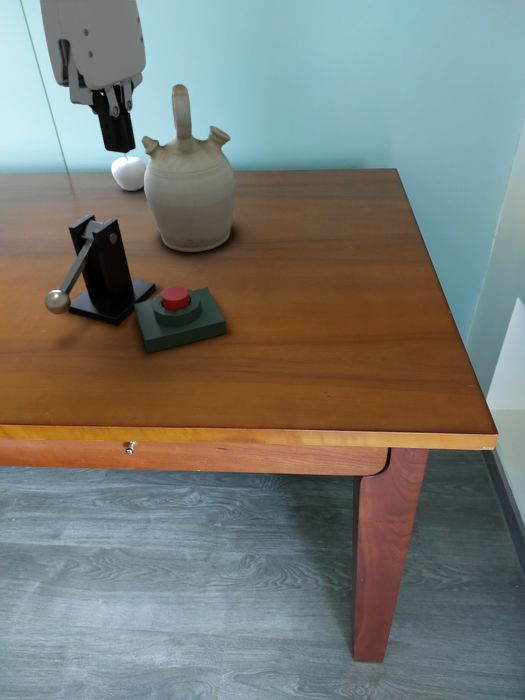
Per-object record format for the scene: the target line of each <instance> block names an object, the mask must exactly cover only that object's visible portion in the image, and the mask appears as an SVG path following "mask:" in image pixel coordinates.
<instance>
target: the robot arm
mask: <svg viewBox="0 0 525 700" xmlns="http://www.w3.org/2000/svg"><path fill="white" fill-rule="evenodd" d="M39 5H40V13H41V20H42V25H43V26H42V27H43V31H44V37H45V41H46V47H47V51H48V57H49V62H50V65H51V69H52V70H51V71H52V74H53V77H54V80H55V82H56V84H57V85H58V86H60V87H63V88H68V89H69V100H70V103H71V104H73V105H78V106H88V107H89V108H90V109H91V111H92V113H93V115H94V116H97V118H98V122H99V127H100V131H101V132H100V133H101V136H102V142H103V146H104V149H105V150H106V151H107V152H113V153H120V154H123V153H125V154H128V153H129V152H130V151H133V150H135V149H136V148H137V145H136V139H135V133H134V127H133V122H132V117H131V111H133V107H134V105H133V94H134V91H135V89H136V88H137V87H138V86H139V85H141V83H142V82H143V79H144V77H143V73H142V72H144V70H145V68H146V65H147V57H146V47H145V40H144V34H143V33H144V32H143V28H142V22H141V18H140V13H139V9H138V4H137V0H39Z"/></svg>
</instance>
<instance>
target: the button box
mask: <svg viewBox="0 0 525 700" xmlns="http://www.w3.org/2000/svg"><path fill="white" fill-rule="evenodd" d="M186 289H187V290H188V293H189V300H190V304H189V306H187V307H186V308H184V309H180V310H176V311H174V310H167V309H165V308H164V305H163V300H162V292H161V293H160V294H158V295H156V296H155V298H154V299H150V300H145V301H144V302H141V303H137V304H134V309H135V310H134V313H135V318H136V320H137V324H138V326H139V329H140V333H141V336H142V339H143V342H144V345H145V349H146V351H147V354H150V353H151V354H152V353H154V352H159V351H163V350H166V349H171V348H174V347H178V346H183V345H185V344H190V343H194V342H197V341H201V340H206V339H209V338H213V337H217V336H221V335H225V334H227V324H226V323H227V322H226V319H225V317H224V315H223V314H222V311H221V310H220V308H219V306H218V305H217V302H216V300H215V299H214V297H213V294H212V293H211V291H210V289H209V287H203V288H198V289H193V290H192V289H190V288H186Z"/></svg>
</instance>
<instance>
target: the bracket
mask: <svg viewBox="0 0 525 700" xmlns="http://www.w3.org/2000/svg"><path fill="white" fill-rule="evenodd" d="M90 221H95V222H97V219H96V217H95V214H92V213H88V214H86V215H85V216H83V217H82V218H80V219H78V220H77V221H75V222H74V223H73V224H71V225H69V226H68V227H67V228H68V231H69V234H70V238H71V241H72V244H73V248H74V251H75V255H76V257H77V256H78V255H79V253H80V251H81V249H82V248H83V246H84V244H85V241H84V240H83V238H82V237H81V236H82V234H83V232H84V231H85V229H86V227H87V225H88V224H89V222H90ZM92 235H93V238H94V242H95V246H96V248H95V249H94V251H93V253H92V255H91V257H90V258H89V260H88V262H87V264H86V265H85V267H84V269H83V271H82V272H81V275H82V278H83V281H84V285H85V288H86V290H84V291H83V292H82V293H80V294H79V295H78V296H77V297H75V298H74V299H73V300H71V306H70V308H69V310H68V311H67V312H68V313H71V314H74V315H78V316H82V317H84V318H89V319H92V320H96V321H99V322H102V323H103V322H104V323H107V324H111V325H115V326H119V325H120V324H122V322H123V321H124V320H125V319H127V318H128V317H129V316H130V315H131V314H132V313H133V312H135V309H134V304H137V303H141V302H145V301H147V299H148V298H149V297H150V296H151V295H153V293H154V292H156V291H157V287H156V283H155V282H151V281H147V280H142V279H139V278H134V277H132V276H131V272H130V267H129V263H128V258H127V255H126V249H125V245H124V242H123V241H124V240H123V237H122V233H121V229H120V224H119V220H118V219H117V218H110V219H109V220H107V221H106V222H104V223H103V225H101V226H100V227H99V228H97V229H96V230H94V231H93V232H92Z"/></svg>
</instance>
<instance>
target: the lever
mask: <svg viewBox="0 0 525 700" xmlns="http://www.w3.org/2000/svg"><path fill="white" fill-rule="evenodd" d="M103 224H104V223H103V222H101V221H96V222H95V221H90V222H89V224H88V225H87V227H86V229H85V231H84V232H83V234H82V236H81V237H82V238H83V240H84V241H85V244H84V246H83V248H82V249H81V251H80V253H79V255H78V256H77V255H76V258H75V259H74V262H73V263H72V265H71V267H70V269H69V270H68V272H67V274H66V276H65V277H64V279H63V281H62V282H61V284H60V286H59V288H58V289H54V290H51V291H50V292H48V293H47V295H46V296H45V297H44V306H45V308H46V310H47V311H48V312H49V313H51V314H54V315H63V314H65V313H67V312H68V310H69V308H70V306H71V302H72V300H71V297H70V293H71V292H72V290H73V289H74V287H75V285H76V283H77V281H78V279H79V278H80V276H81V275H82V271H83V269H84V267H85V265H86V264H87V262H88V260H89V258H90V257H91V255H92V253H93V251H94V249H95V248H96V246H95V242H94V238H93V235H92V232H93V231H94V230H96V229H97V228H99V227H100V226H101V225H103Z"/></svg>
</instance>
